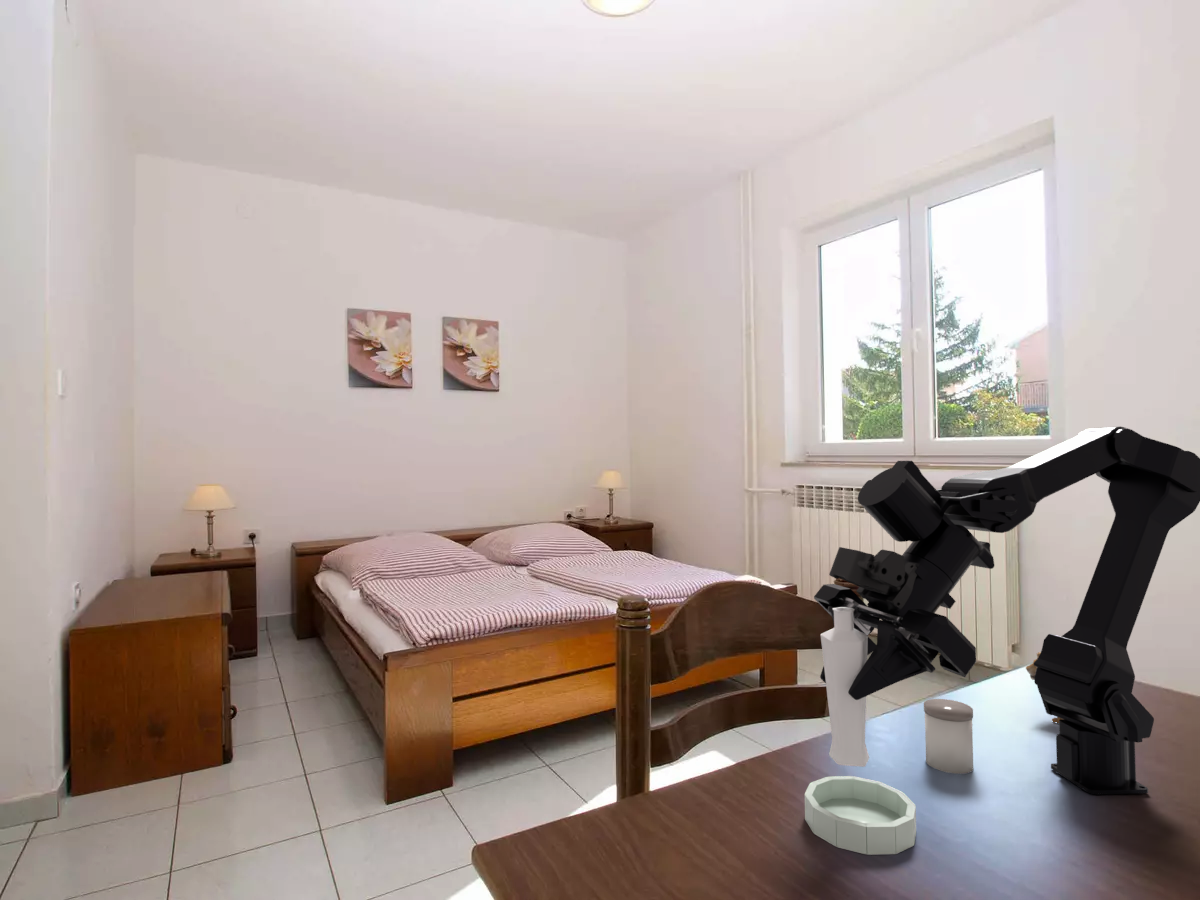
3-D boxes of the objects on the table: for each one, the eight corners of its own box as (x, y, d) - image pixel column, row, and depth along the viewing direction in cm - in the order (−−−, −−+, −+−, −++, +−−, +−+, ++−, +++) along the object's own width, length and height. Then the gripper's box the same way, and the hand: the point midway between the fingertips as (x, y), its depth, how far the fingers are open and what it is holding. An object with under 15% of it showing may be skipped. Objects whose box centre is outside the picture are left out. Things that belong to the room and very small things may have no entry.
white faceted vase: (883, 767, 66) (877, 613, 66) (840, 770, 65) (833, 615, 66) (862, 747, 70) (856, 603, 70) (821, 750, 70) (815, 605, 70)
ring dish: (887, 799, 71) (886, 775, 72) (935, 853, 61) (935, 825, 62) (793, 800, 71) (793, 777, 71) (827, 855, 61) (826, 827, 61)
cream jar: (958, 754, 82) (957, 698, 82) (983, 773, 77) (982, 714, 77) (916, 755, 82) (915, 699, 82) (939, 774, 77) (937, 714, 77)
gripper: (826, 513, 78) (742, 616, 75) (944, 527, 60) (839, 663, 57) (887, 577, 80) (807, 680, 77) (1020, 609, 62) (922, 745, 59)
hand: (837, 688), depth 67 cm, fingers closed on white faceted vase, 4 cm apart
